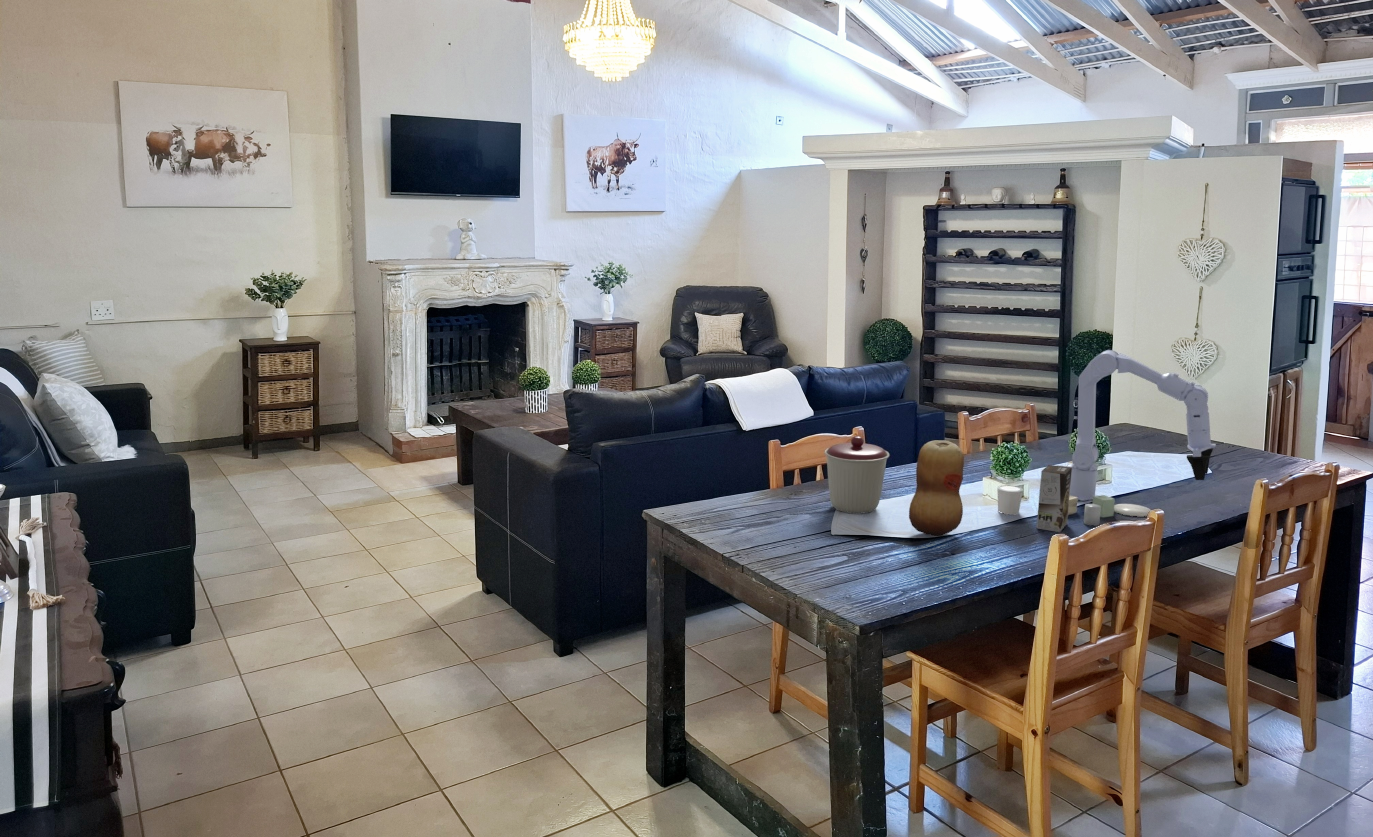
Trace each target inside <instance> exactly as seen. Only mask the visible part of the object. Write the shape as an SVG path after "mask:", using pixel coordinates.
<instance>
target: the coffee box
mask: <svg viewBox="0 0 1373 837" xmlns="http://www.w3.org/2000/svg"><path fill="white" fill-rule="evenodd" d="M1066 466H1067V465H1066ZM1066 466H1065V465H1055V464H1048V465H1047V466H1046V467H1044V468H1043V469H1042V470H1041V471H1040V472H1041V475H1040V485H1039V496H1038V507H1037V518H1036V529H1039V530H1044V531H1051V532H1055V533H1061V532H1062V530H1063V529H1064V528H1065V527H1066V526H1067V524H1068V519H1069V518H1068V516H1069V515H1068V507H1069V495H1070V484H1071V473H1072V467H1066Z"/></svg>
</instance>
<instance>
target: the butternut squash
mask: <svg viewBox="0 0 1373 837" xmlns="http://www.w3.org/2000/svg"><path fill="white" fill-rule="evenodd" d="M917 457H918V458H917V462H916V468H915V474H916V476H915V477H916V478H915V481H916V488H915V493H914V495H913V497H912V499H911V502H910V504H909V510H908V519H909V521H910V524H911V526H912V527H913V528H914V529H915V530H916V531H917V532H919V533H922V534H924V535H930V536H933V537H942V536H945V535H947V534H949V533H951V532H953V531H955V530H956V529H957V528H958V527H959V526H960V524H961V522H962V519H963V514H964V508H963V507H964V506H963V501H962V498H961V495H960V489H961V486H962V483H963V480H964V466H965V465H964V464H965V463H964V462H965V461H964V460H965V458H964V452H963V450H962V448H960V447H959V446H958V445H957V444H956V443H953V441H952V442H951V441H949V440H940V439H939V440H931V441H928V442H926V443H924V444H923V446H921V448H920V450H919V453H918V456H917Z"/></svg>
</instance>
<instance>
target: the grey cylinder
mask: <svg viewBox="0 0 1373 837" xmlns="http://www.w3.org/2000/svg"><path fill="white" fill-rule="evenodd" d="M1100 511H1101V506H1100V505H1096V504H1093V503H1085V505H1084V514H1083V524H1084V525H1086V526H1091V525H1094V526H1095V527H1096V526H1100V519H1101V517H1100Z"/></svg>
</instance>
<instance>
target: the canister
mask: <svg viewBox="0 0 1373 837" xmlns="http://www.w3.org/2000/svg"><path fill="white" fill-rule="evenodd" d="M864 442H865V440H864V439H863V437H861V436H856V435H855V436H853V437H852V438H851V439H850V442H842V443H841V442H840V443H837V444H833V445H831V446H830V447H828V448H826V449H825V450H824V455H825V456H826V465H827V466H826V467H827V479H828V480H827V481H828V491H829V499H830V503H831V505H832V507H834V509H836V510H838V511H840V512H844V513H848V514H866V513H871V512H873V511H875V510H876V509H877V507H878V505H879V504H880V500H881V496H882V490H883V484H884V478H885V473H886V466H887V465H886V464H887V460H888V459H889V457H890V453H889V451H887V450H885V449H884V448H883V447H881V446H878V445H875V444H870V443H864Z"/></svg>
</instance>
